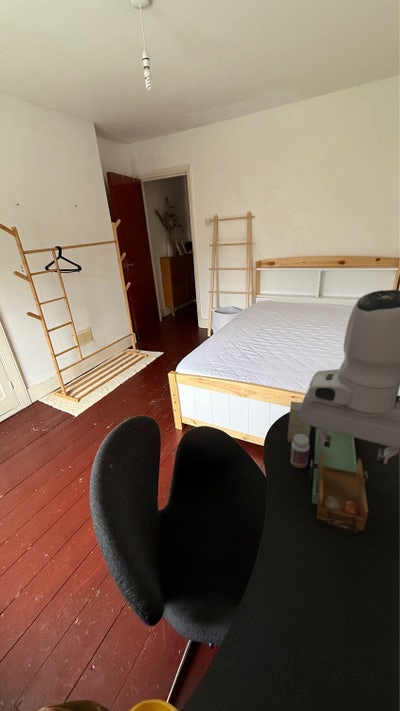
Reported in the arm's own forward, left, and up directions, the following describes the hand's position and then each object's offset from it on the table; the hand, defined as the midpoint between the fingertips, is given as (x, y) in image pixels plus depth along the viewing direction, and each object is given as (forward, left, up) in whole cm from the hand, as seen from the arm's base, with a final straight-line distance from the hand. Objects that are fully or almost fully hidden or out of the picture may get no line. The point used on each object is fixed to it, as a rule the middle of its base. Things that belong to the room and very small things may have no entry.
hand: (352, 452), depth 56 cm
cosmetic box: (-13, -25, -23) cm, 36 cm away
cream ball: (+2, -1, -14) cm, 14 cm away
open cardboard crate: (-1, -2, -16) cm, 16 cm away
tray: (-16, -14, -22) cm, 31 cm away
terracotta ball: (0, +2, -14) cm, 14 cm away
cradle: (-4, -4, -22) cm, 23 cm away
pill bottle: (-7, -18, -23) cm, 30 cm away
